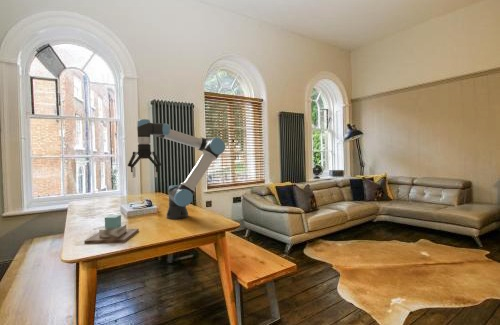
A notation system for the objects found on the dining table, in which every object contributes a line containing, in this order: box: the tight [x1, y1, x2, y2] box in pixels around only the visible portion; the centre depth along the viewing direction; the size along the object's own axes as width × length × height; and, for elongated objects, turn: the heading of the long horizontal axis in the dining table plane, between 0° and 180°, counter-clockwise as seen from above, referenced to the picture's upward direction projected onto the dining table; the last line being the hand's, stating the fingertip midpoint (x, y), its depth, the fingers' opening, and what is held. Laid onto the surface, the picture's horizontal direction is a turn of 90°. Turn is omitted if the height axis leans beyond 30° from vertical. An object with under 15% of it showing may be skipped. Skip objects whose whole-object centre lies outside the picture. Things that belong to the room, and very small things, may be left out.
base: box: [83, 224, 140, 245], centre depth 146 cm, size 20×20×6 cm
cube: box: [104, 214, 122, 229], centre depth 146 cm, size 6×6×6 cm
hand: (145, 177), depth 169 cm, fingers open, 13 cm apart
